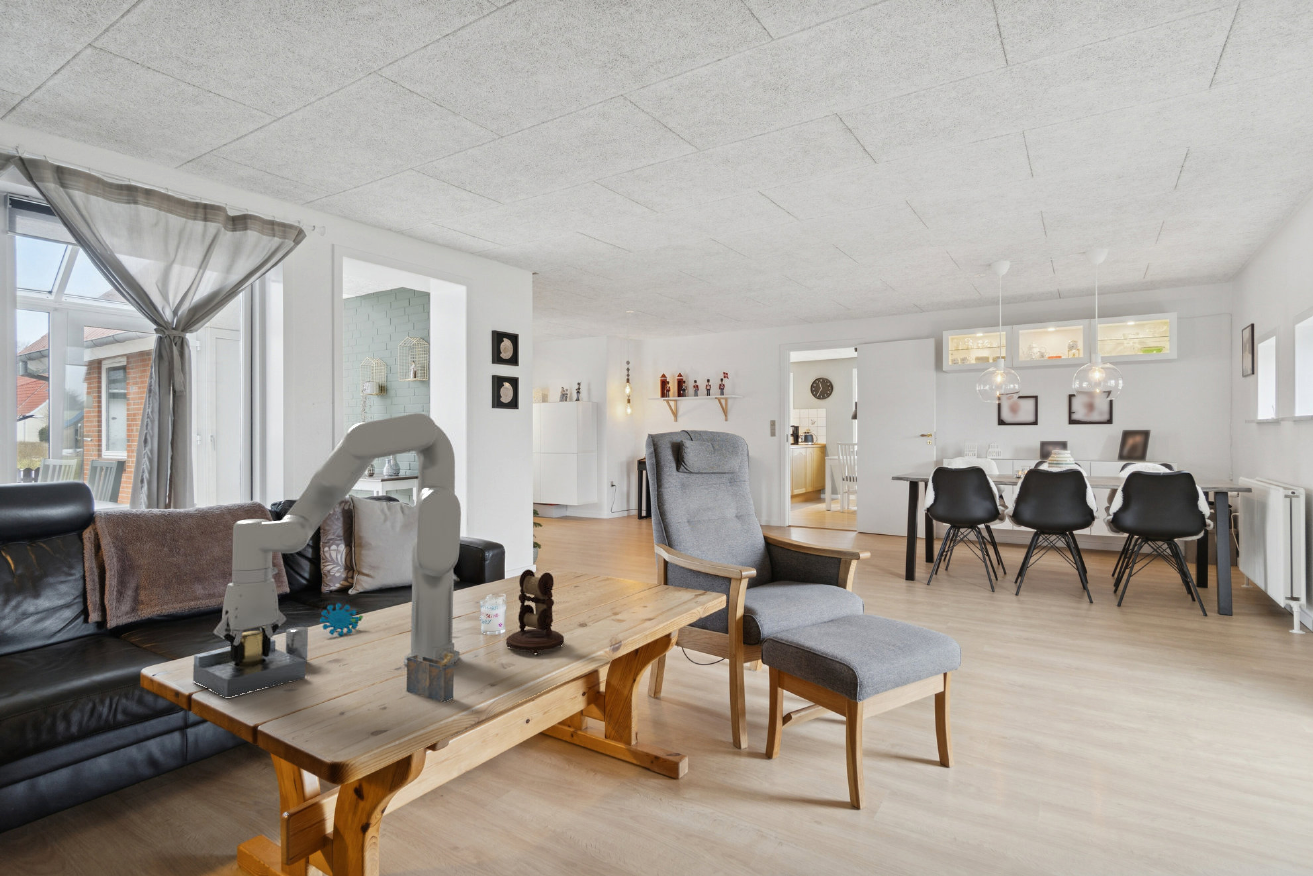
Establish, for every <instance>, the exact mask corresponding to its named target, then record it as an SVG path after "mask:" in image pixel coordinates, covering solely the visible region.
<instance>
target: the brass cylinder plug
mask: <svg viewBox="0 0 1313 876" xmlns="http://www.w3.org/2000/svg"><path fill="white" fill-rule="evenodd" d="M240 644H242V646H243V648H242V662H241V663H238V666H241V667H246V666H254V665H258V664H261V663H263V632H262V631H261V630H250V631H249V630H248V631H245V632H244V631H243V634H242V637H241V640H240Z"/></svg>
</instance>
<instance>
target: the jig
mask: <svg viewBox="0 0 1313 876" xmlns="http://www.w3.org/2000/svg"><path fill="white" fill-rule="evenodd" d="M230 654H231V646H230V647H226V648H222V649H216V650H213V651H212V650H211V651H208V652H203V653H197V654H194V655H193V672H192V673H193V675H192V676H193V677H192V678H193V681H195V682H196V683H199V684H201V685H203V686H205V687H207V688H208V689H211V690H212V691H214V692H216V693H218V694H219V695H222V696H224V697H232V696H235V695H240V694H242V693H247V692H249V691H255V690H257V689H262V688H265V687H271V686H273V685H278V684H281V683H285V684H287V683H286V682H289V681H293V682H295V681H294V680H296V681H299V680H298V679H300V680H303V679H302V678H304V679H306V664H305V660H304V659H301V658H298V657H296V656H293V655H290V654H288V653H286V651H282V650H279V649H276V639H273V638H271V644H270V651H269V656H267V657H265V656H263V663H261V664H258V665H254V666H246V667H241V666H238V663H236V662H234V661H232V659H231V657H230ZM193 681H192V682H193ZM289 683H290V682H289ZM278 686H279V685H278ZM271 688H272V687H271ZM219 695H218V696H219Z"/></svg>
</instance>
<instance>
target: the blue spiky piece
mask: <svg viewBox="0 0 1313 876" xmlns="http://www.w3.org/2000/svg"><path fill="white" fill-rule="evenodd" d="M341 607H342V604H341V603H336V605H335V610H333V609H334V605H333V604H329V605H327V608H326V609H324V610H323V611H321V618H320V620H319V622H320V623H321V624H322V623H324V624H323V625H322V629H323V630H324V631H326V630H328V629H330V628H331V629H330V630H329V631H328V634H330V635H334V634H335V632H336V631H337V630H339V631H338V633H337V636H339V637H344V633H345V632H344V629H346V634H347V635H351V634H352V632H353V630H356V629H357V628H358V626H359V622H362V619H363V618H364V616H363V615H358V616H355V615H356V614H357V611H356V609H352V610H350V608H351V606H350V605H349V604H346V605H345V606H344V607H343V608H342V609H340V608H341ZM328 611H329V613H330V614H328ZM350 626H351V627H350Z"/></svg>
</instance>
